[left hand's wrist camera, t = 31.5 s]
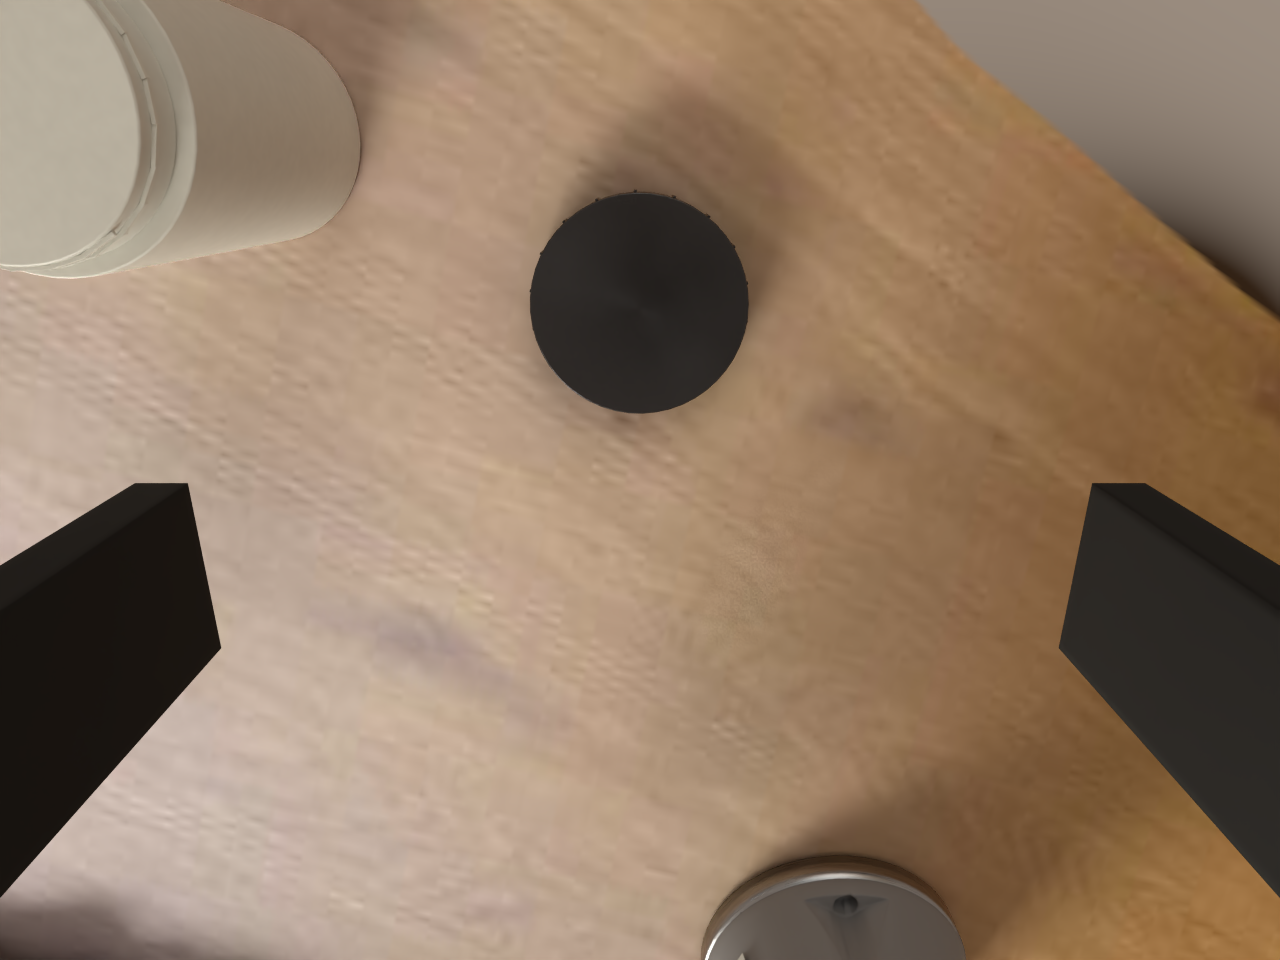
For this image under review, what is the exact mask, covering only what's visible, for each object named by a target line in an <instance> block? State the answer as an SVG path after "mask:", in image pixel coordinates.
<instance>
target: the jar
mask: <svg viewBox="0 0 1280 960" xmlns="http://www.w3.org/2000/svg"><path fill="white" fill-rule="evenodd" d="M359 162H360V132H359V126H358V121H357V116H356V113H355V110H354V107H353V104H352V101H351V98H350V96H349V94H348V92H347V90H346V88H345V86H344V84H343V82H342V81H341V79H340V77H339V76H338V74H337V72H336V71H335V70H334V69H333V67H332V66H331V65H330V63H329V62H328V61H327V60H326V59H325V58H324V57H323V55H322V54H321V53H320V52H319V51H318V50H317V49H316V48H314V47H313V46H312V45H311V44H310V43H308V42H307V41H306V40H305V39H303V38H302V37H300V36H298V35H297V34H295V33H294V32H292V31H290V30H288V29H286V28H284V27H282V26H280V25H278V24H276V23H273V22H271V21H268V20H266V19H263V18H261V17H259V16H256V15H254V14H251V13H249V12H247V11H244V10H242V9H239V8H237V7H235V6H232V5H230V4H227V3H225V2H223V1H220V0H0V269H4V270H9V271H23V272H26V273H30V274H33V275H39V276H45V277H51V278H68V279H78V278H87V277H96V276H101V275H107V274H112V273H117V272H123V271H128V270H133V269H139V268H144V267H149V266H155V265H160V264H166V263H171V262H176V261H182V260H187V259H192V258H198V257H203V256H208V255H214V254H219V253H224V252H230V251H235V250H241V249H246V248H251V247H257V246H262V245H267V244H273V243H278V242H283V241H289V240H293V239H296V238H300V237H303V236H305V235H308V234H310V233H312V232H314V231H316V230H317V229H319V228H321V227H322V226H324V225H325V224H326V223H327V222H328V221H330V220H331V219H332V218H333V217H334V216H335V215H336V214H337V212H338V211H339V210H340V209H341V208H342V206H343V205H344V203H345V202H346V200H347V199H348V197H349V195H350V192H351V190H352V188H353V186H354V183H355V180H356V176H357V173H358V167H359Z"/></svg>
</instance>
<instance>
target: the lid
mask: <svg viewBox="0 0 1280 960" xmlns="http://www.w3.org/2000/svg"><path fill="white" fill-rule="evenodd" d="M595 200H596V201H595V202H593V203H592V204H590V205H588V206H586V207H585V208H583V209H581V210H579V211H578V212H577V213H575V214H574V215H573V216H572V217H570V218H569V219H565V220H564V221H563V223H564V224H563V225H562V226H561V227H560V228H559V229H558V230H557V231H556V232H555V233H554V235H553V236H552V237H551V239H550V240H549V241H548V243H547V245H546V247H545V248H544V250H543V251H542V252H541V253H540V255H541V256H540V258H539V261H538V263H537V266H536V268H535V272H534V276H533V280H532V285H531V289H530V292H531V294H530V313H531V320H532V327H533V331H534V334H535V337H536V341H537V343H538V345H539V348H540V350H541V352H542V354H543V356H544V358H545V359H546V361H547V363H548V364H549V366H550V367H551V369H552V370H553V371H554V372H555V374H556V375H557V376H558V377H559V378H560V379H561V380H562V381H563V382H564V383H565V384H566V385H567V386H568V387H569V388H570V389H572V390H573V391H574V392H575V393H577V394H578V395H580V396H581V397H583V398H585V399H586V400H588V401H590V402H592V403H594V404H597V405H599V406H601V407H604V408H607V409H611V410H614V411H619V412H625V413H642V414H643V413H653V412H660V411H664V410H668V409H672V408H674V407H677V406H680V405H683V404H685V403H687V402H689V401H690V400H692V399H694V398H696V397H697V396H699V395H700V394H702V393H703V392H705V391H706V390H707V389H708V388H710V387H711V386H712V385H713V384H714V383H715V382H716V381H717V380H718V379H719V378H720V377H721V376H722V374H723V373H724V372H725V371H726V370H727V368H728V367H729V365H730V364H731V362H732V361H733V359H734V357H735V355H736V353H737V351H738V349H739V347H740V345H741V342H742V339H743V336H744V333H745V329H746V324H747V319H748V306H749V301H748V288H747V285H748V282H747V281H746V277H745V273H744V270H743V267H742V264H741V261H740V259H739V257H738V255H737V253H736V251H735V249H734V248H735V246H734V245H733V244H732V243H731V242H730V241H729V239H728V238H727V236H726V235H725V234H724V233H723V232H722V230H721V229H720V228H719V227H718V226H717V225H716V224H715V223H714V222H713V221H712V220H711V219H709V218H710V216H709V215H708V214H703V213H702V212H700V211H699V210H697V209H696V208H694V207H693V206H691V205H689V204H687V203H685V202H683V201H681V200H679V199H676V196H674V195H672V197H670V196H667V195H664V194H658V193H652V192H637V190H634V192H627V193H620V194H616V195H612V196H608V197H605V198H603V199H599V198H597V199H595Z"/></svg>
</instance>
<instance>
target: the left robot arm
mask: <svg viewBox="0 0 1280 960" xmlns="http://www.w3.org/2000/svg"><path fill="white" fill-rule="evenodd" d="M220 649H221V645H220V640H219V635H218V630H217V625H216V620H215V615H214V610H213V605H212V600H211V595H210V590H209V585H208V581H207V576H206V571H205V566H204V561H203V556H202V551H201V546H200V541H199V536H198V531H197V526H196V521H195V517H194V512H193V507H192V502H191V497H190V492H189V487H188V483H135V484H133V485H131V486H130V487H128V488H126V489H125V490H123V491H121V492H120V493H118V494H117V495H115V496H113V497H112V498H110V499H108V500H107V501H105V502H103V503H102V504H100V505H99V506H97V507H95V508H94V509H92V510H90V511H89V512H87V513H85V514H84V515H82V516H81V517H79V518H77V519H76V520H74V521H72V522H71V523H69V524H67V525H66V526H64V527H63V528H61V529H59V530H58V531H56V532H54V533H53V534H51V535H49V536H48V537H46V538H45V539H43V540H41V541H40V542H38V543H36V544H35V545H33V546H31V547H30V548H28V549H27V550H25V551H23V552H22V553H20V554H18V555H17V556H15V557H13V558H12V559H10V560H8V561H7V562H5V563H4V564H2V565H0V897H1V896H2V895H3V894H4V893H5V892H6V891H7V890H8V888H9V887H10V886H11V885H12V884H13V883H14V882H15V880H16V879H17V878H18V877H19V876H20V875H21V874H22V873H23V871H24V870H25V869H26V868H27V867H28V866H29V865H30V864H31V862H32V861H33V860H34V859H35V858H36V857H37V856H38V854H39V853H40V852H41V851H42V850H43V849H44V848H45V847H46V845H47V844H48V843H49V842H50V841H51V840H52V839H53V838H54V836H55V835H56V834H57V833H58V832H59V831H60V830H61V828H62V827H63V826H64V825H65V824H66V823H67V822H68V821H69V819H70V818H71V817H72V816H73V815H74V814H75V813H76V812H77V810H78V809H79V808H80V807H81V806H82V805H83V804H84V803H85V801H86V800H87V799H88V798H89V797H90V796H91V795H92V793H93V792H94V791H95V790H96V789H97V788H98V787H99V786H100V784H101V783H102V782H103V781H104V780H105V779H106V778H107V777H108V775H109V774H110V773H111V772H112V771H113V770H114V769H115V767H116V766H117V765H118V764H119V763H120V762H121V761H122V760H123V758H124V757H125V756H126V755H127V754H128V753H129V752H130V751H131V749H132V748H133V747H134V746H135V745H136V744H137V743H138V741H139V740H140V739H141V738H142V737H143V736H144V735H145V734H146V732H147V731H148V730H149V729H150V728H151V727H152V726H153V725H154V723H155V722H156V721H157V720H158V719H159V718H160V717H161V716H162V714H163V713H164V712H165V711H166V710H167V709H168V708H169V706H170V705H171V704H172V703H173V702H174V701H175V700H176V699H177V697H178V696H179V695H180V694H181V693H182V692H183V691H184V690H185V688H186V687H187V686H188V685H189V684H190V683H191V682H192V680H193V679H194V678H195V677H196V676H197V675H198V674H199V673H200V671H201V670H202V669H203V668H204V667H205V666H206V665H207V664H208V662H209V661H210V660H211V659H212V658H213V657H214V656H215V655H216V653H217V652H218V651H219V650H220ZM1059 649H1060V650H1061V651H1062V652H1063V653H1064V655H1065V656H1066V657H1067V658H1068V659H1069V660H1070V661H1071V662H1072V664H1073V665H1074V666H1075V667H1076V668H1077V669H1078V670H1079V671H1080V673H1081V674H1082V675H1083V676H1084V677H1085V678H1086V679H1087V680H1088V682H1089V683H1090V684H1091V685H1092V686H1093V687H1094V688H1095V690H1096V691H1097V692H1098V693H1099V694H1100V695H1101V696H1102V697H1103V699H1104V700H1105V701H1106V702H1107V703H1108V704H1109V705H1110V706H1111V708H1112V709H1113V710H1114V711H1115V712H1116V713H1117V714H1118V716H1119V717H1120V718H1121V719H1122V720H1123V721H1124V722H1125V723H1126V725H1127V726H1128V727H1129V728H1130V729H1131V730H1132V731H1133V732H1134V734H1135V735H1136V736H1137V737H1138V738H1139V739H1140V740H1141V741H1142V743H1143V744H1144V745H1145V746H1146V747H1147V748H1148V749H1149V751H1150V752H1151V753H1152V754H1153V755H1154V756H1155V757H1156V758H1157V760H1158V761H1159V762H1160V763H1161V764H1162V765H1163V766H1164V767H1165V769H1166V770H1167V771H1168V772H1169V773H1170V774H1171V775H1172V777H1173V778H1174V779H1175V780H1176V781H1177V782H1178V783H1179V784H1180V786H1181V787H1182V788H1183V789H1184V790H1185V791H1186V792H1187V793H1188V795H1189V796H1190V797H1191V798H1192V799H1193V800H1194V801H1195V803H1196V804H1197V805H1198V806H1199V807H1200V808H1201V809H1202V810H1203V812H1204V813H1205V814H1206V815H1207V816H1208V817H1209V818H1210V819H1211V821H1212V822H1213V823H1214V824H1215V825H1216V826H1217V827H1218V828H1219V830H1220V831H1221V832H1222V833H1223V834H1224V835H1225V836H1226V838H1227V839H1228V840H1229V841H1230V842H1231V843H1232V844H1233V845H1234V847H1235V848H1236V849H1237V850H1238V851H1239V852H1240V853H1241V854H1242V856H1243V857H1244V858H1245V859H1246V860H1247V861H1248V862H1249V864H1250V865H1251V866H1252V867H1253V868H1254V869H1255V870H1256V871H1257V873H1258V874H1259V875H1260V876H1261V877H1262V878H1263V879H1264V880H1265V882H1266V883H1267V884H1268V885H1269V886H1270V887H1271V888H1272V890H1273V891H1274V892H1275V893H1276V894H1277V895H1278V896H1279V897H1280V565H1278V564H1276V563H1275V562H1273V561H1272V560H1270V559H1268V558H1267V557H1265V556H1263V555H1262V554H1260V553H1258V552H1257V551H1255V550H1253V549H1252V548H1250V547H1249V546H1247V545H1245V544H1244V543H1242V542H1240V541H1239V540H1237V539H1235V538H1234V537H1232V536H1231V535H1229V534H1227V533H1226V532H1224V531H1222V530H1221V529H1219V528H1217V527H1216V526H1214V525H1213V524H1211V523H1209V522H1208V521H1206V520H1204V519H1203V518H1201V517H1199V516H1198V515H1196V514H1195V513H1193V512H1191V511H1190V510H1188V509H1186V508H1185V507H1183V506H1181V505H1180V504H1178V503H1177V502H1175V501H1173V500H1172V499H1170V498H1168V497H1167V496H1165V495H1163V494H1162V493H1160V492H1159V491H1157V490H1155V489H1154V488H1152V487H1150V486H1149V485H1147V484H1145V483H1092V487H1091V492H1090V497H1089V502H1088V507H1087V512H1086V517H1085V521H1084V526H1083V531H1082V536H1081V541H1080V546H1079V551H1078V556H1077V561H1076V566H1075V571H1074V576H1073V581H1072V585H1071V590H1070V595H1069V600H1068V605H1067V610H1066V615H1065V620H1064V625H1063V630H1062V635H1061V640H1060V645H1059ZM701 960H966V956H965V950H964V947H963V943H962V940H961V938H960V935H959V933H958V931H957V928H956V926H955V923H954V921H953V919H952V916H951V914H950V912H949V910H948V908H947V906H946V905H945V903H944V902H943V900H942V899H941V898H940V897H939V895H938V894H937V893H936V892H935V891H934V890H933V889H932V888H931V887H930V886H929V885H928V884H926V883H925V882H924V881H922V880H921V879H920V878H918V877H917V876H915V875H913V874H912V873H910V872H908V871H906V870H904V869H902V868H900V867H897V866H894V865H892V864H889V863H886V862H882V861H879V860H875V859H869V858H864V857H855V856H822V857H814V858H808V859H803V860H798V861H794V862H791V863H787V864H784V865H781V866H779V867H776V868H773V869H771V870H769V871H767V872H764V873H762V874H760V875H759V876H757V877H755V878H753V879H752V880H750V881H749V882H747V883H746V884H744V885H743V886H741V887H740V888H739V889H738V890H736V891H735V892H734V893H733V894H732V895H731V896H730V897H729V898H728V899H727V900H726V901H725V902H724V903H723V904H722V905H721V906H720V908H719V909H718V910H717V912H716V913H715V915H714V916H713V918H712V919H711V921H710V923H709V925H708V927H707V930H706V933H705V936H704V939H703V944H702V951H701Z"/></svg>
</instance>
